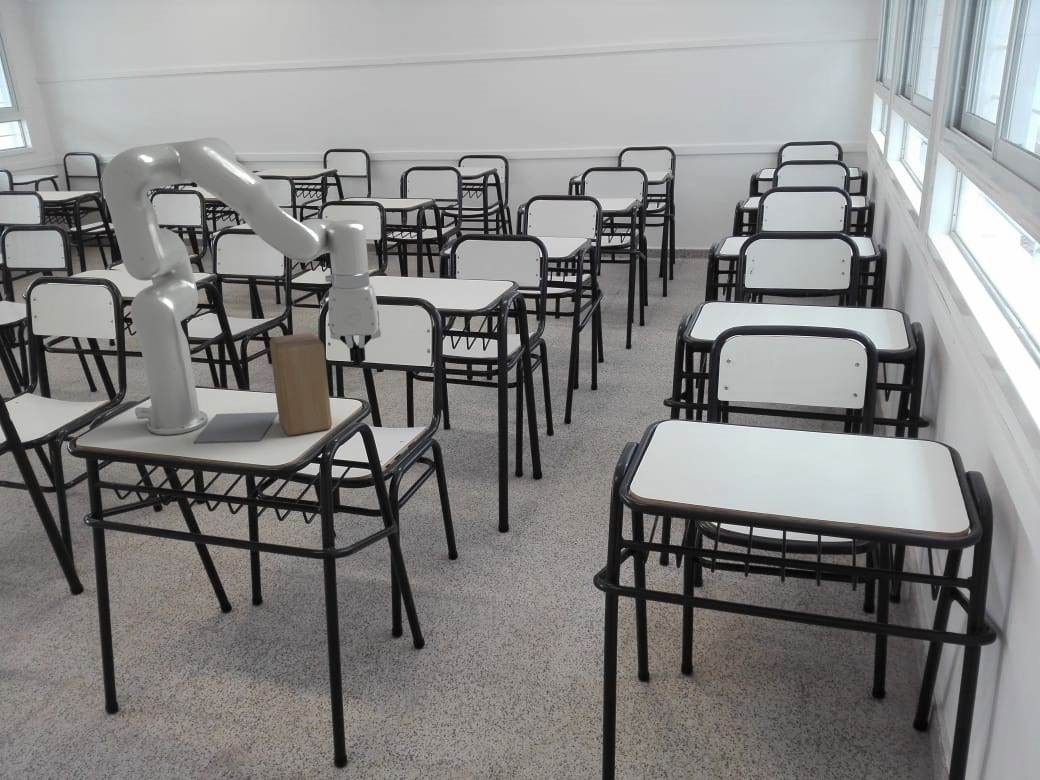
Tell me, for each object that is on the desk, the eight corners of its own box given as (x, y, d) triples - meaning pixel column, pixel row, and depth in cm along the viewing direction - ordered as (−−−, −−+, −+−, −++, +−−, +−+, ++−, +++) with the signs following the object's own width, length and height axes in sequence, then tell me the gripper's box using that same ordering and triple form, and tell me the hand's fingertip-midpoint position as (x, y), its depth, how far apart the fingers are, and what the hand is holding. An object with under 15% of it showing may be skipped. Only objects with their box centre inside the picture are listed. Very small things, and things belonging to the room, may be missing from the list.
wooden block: (278, 422, 189) (268, 336, 182) (323, 414, 193) (314, 330, 186) (287, 438, 181) (276, 348, 174) (333, 429, 184) (324, 342, 178)
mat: (193, 443, 179) (193, 441, 179) (216, 415, 194) (216, 413, 194) (260, 441, 179) (259, 439, 179) (278, 413, 194) (277, 412, 194)
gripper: (311, 285, 172) (320, 370, 179) (384, 283, 173) (391, 368, 179) (318, 277, 179) (326, 359, 186) (389, 275, 180) (395, 357, 186)
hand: (358, 363), depth 182 cm, fingers closed
